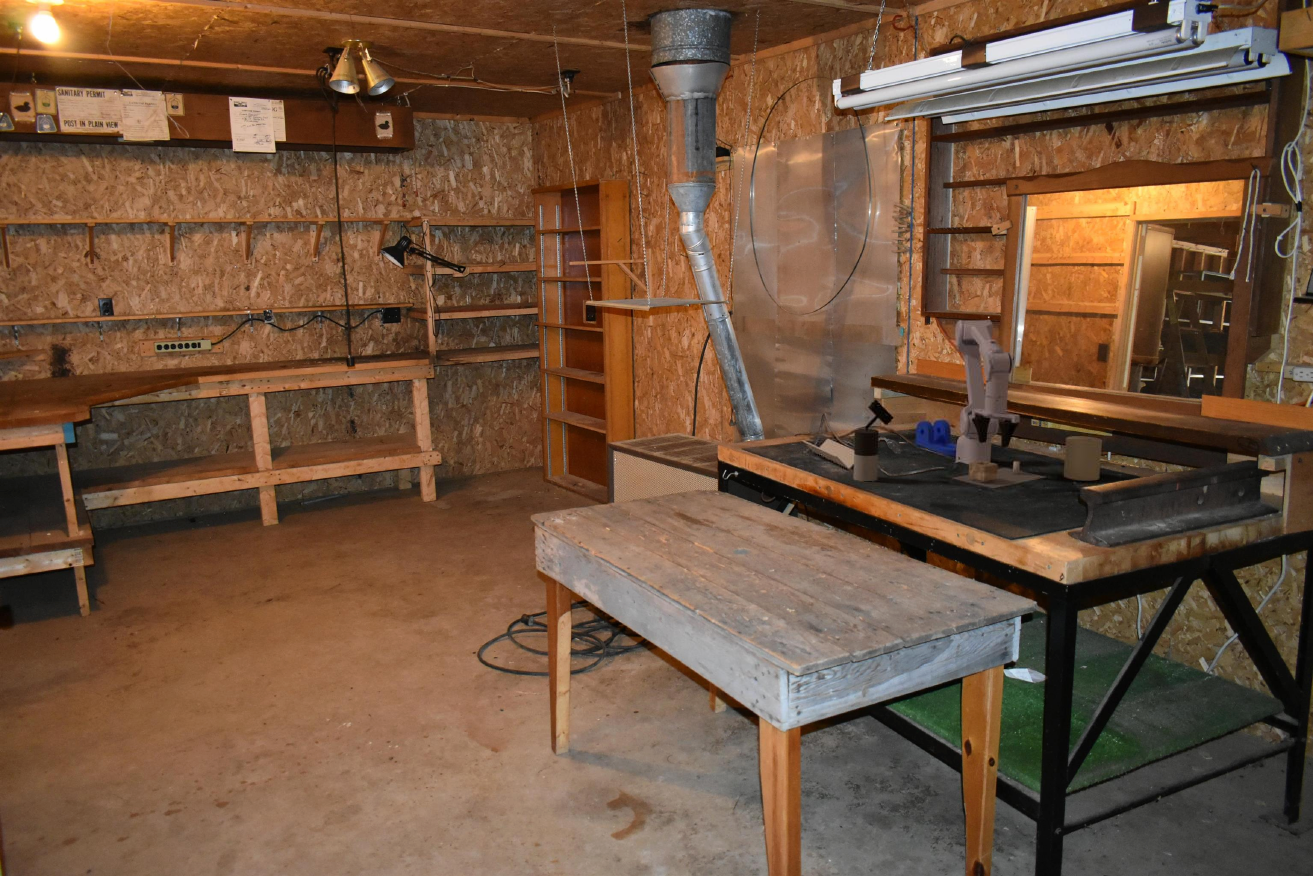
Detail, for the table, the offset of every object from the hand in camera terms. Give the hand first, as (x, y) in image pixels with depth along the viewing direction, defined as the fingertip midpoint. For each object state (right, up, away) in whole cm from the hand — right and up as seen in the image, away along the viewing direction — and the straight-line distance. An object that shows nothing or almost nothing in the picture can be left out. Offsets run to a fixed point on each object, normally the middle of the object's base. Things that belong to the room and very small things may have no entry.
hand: (993, 444), depth 258 cm
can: (+23, -10, -3) cm, 25 cm away
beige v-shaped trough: (-38, -6, +27) cm, 47 cm away
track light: (-33, -10, +3) cm, 35 cm away
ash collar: (-5, -9, -6) cm, 12 cm away
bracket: (-2, -3, +39) cm, 39 cm away
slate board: (0, -10, -3) cm, 10 cm away
